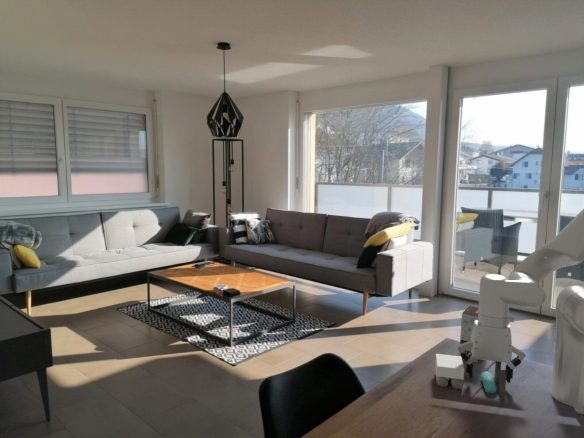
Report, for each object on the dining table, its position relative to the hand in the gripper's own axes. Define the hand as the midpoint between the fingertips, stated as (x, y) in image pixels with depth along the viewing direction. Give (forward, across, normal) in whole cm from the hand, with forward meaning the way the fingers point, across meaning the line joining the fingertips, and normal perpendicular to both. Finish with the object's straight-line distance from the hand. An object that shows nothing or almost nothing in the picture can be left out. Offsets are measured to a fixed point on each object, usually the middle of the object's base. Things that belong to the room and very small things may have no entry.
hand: (488, 378), depth 120 cm
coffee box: (+4, +2, -20) cm, 20 cm away
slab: (-1, +10, 0) cm, 11 cm away
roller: (+1, 0, 0) cm, 1 cm away
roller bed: (+4, +6, 0) cm, 7 cm away
